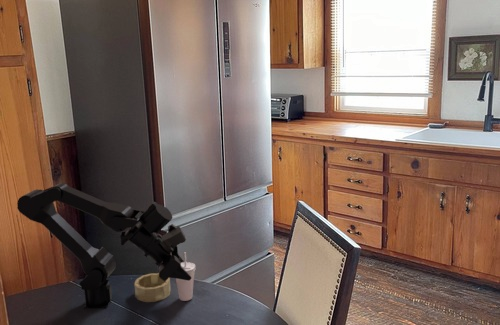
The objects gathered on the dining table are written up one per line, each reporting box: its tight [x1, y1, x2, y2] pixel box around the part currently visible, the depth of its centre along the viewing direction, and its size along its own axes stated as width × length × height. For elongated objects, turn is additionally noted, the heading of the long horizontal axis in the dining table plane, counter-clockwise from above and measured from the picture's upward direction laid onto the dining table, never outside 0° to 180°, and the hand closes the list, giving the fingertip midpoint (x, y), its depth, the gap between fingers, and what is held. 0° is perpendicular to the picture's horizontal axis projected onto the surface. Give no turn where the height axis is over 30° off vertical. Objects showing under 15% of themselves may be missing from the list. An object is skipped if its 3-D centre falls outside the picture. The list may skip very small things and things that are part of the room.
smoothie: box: [175, 251, 196, 302], centre depth 134 cm, size 6×6×14 cm
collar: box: [134, 272, 171, 303], centre depth 139 cm, size 10×10×4 cm
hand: (189, 274), depth 135 cm, fingers closed on smoothie, 6 cm apart
